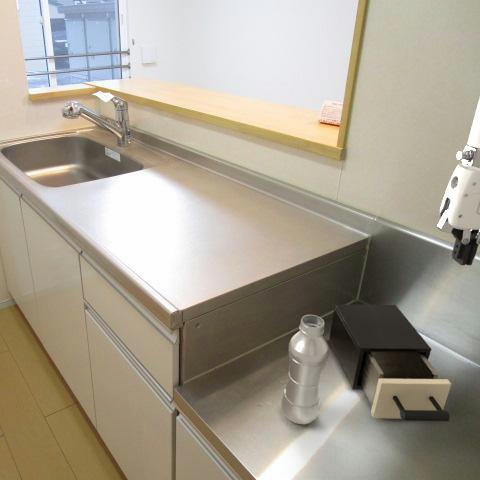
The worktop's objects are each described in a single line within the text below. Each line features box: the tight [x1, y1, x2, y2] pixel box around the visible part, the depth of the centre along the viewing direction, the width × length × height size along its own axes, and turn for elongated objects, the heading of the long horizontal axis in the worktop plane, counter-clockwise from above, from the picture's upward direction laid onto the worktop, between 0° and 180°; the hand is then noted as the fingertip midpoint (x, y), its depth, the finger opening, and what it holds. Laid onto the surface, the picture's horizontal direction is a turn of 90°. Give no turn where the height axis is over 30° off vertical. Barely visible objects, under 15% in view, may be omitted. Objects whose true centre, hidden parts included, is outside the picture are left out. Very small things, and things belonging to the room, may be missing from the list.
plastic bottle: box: [281, 314, 330, 425], centre depth 76 cm, size 6×7×20 cm
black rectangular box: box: [328, 304, 432, 390], centre depth 90 cm, size 15×13×10 cm
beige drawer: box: [358, 352, 452, 422], centre depth 80 cm, size 18×11×8 cm, turn 178°
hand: (461, 261), depth 79 cm, fingers closed
